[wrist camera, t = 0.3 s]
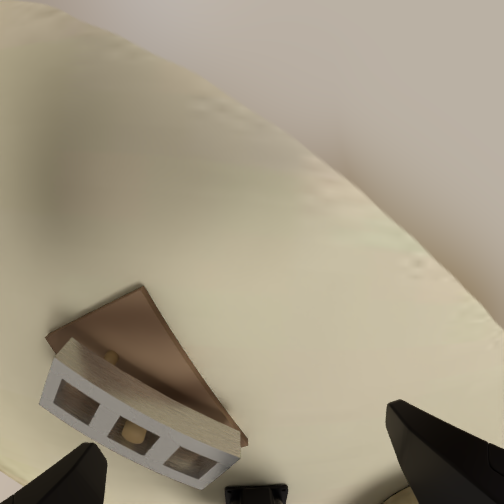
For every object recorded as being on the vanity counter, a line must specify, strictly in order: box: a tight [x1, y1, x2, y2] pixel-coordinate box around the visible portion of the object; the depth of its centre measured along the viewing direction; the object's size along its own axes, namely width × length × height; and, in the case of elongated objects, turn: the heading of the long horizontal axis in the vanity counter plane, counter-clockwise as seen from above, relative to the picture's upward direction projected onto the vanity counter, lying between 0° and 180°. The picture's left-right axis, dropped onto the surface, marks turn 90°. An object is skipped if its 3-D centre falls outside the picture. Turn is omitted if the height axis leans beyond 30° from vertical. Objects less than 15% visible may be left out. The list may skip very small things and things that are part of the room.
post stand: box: [45, 286, 248, 447], centre depth 21 cm, size 16×10×5 cm, turn 26°
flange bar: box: [39, 337, 241, 490], centre depth 20 cm, size 14×6×3 cm, turn 56°
